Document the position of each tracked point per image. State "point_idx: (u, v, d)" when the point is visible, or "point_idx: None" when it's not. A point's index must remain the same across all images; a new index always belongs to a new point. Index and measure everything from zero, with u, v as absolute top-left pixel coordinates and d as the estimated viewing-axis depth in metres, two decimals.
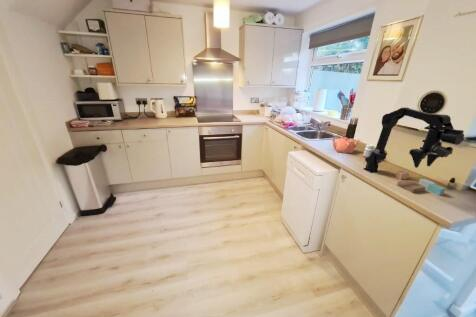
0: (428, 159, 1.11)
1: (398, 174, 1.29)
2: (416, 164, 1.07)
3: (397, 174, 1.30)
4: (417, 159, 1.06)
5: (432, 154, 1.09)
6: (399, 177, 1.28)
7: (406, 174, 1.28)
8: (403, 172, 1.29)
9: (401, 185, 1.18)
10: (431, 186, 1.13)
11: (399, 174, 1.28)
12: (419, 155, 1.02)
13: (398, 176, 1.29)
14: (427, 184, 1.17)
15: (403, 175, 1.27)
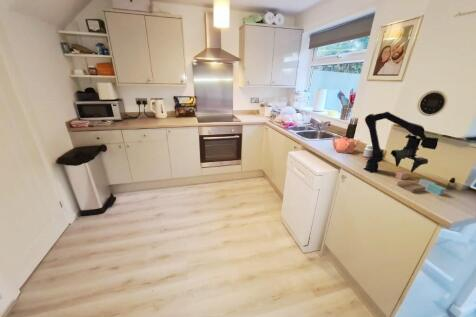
0: None
1: (398, 174, 1.29)
2: None
3: (397, 174, 1.30)
4: None
5: None
6: (399, 177, 1.28)
7: (406, 174, 1.28)
8: (403, 172, 1.29)
9: (401, 185, 1.18)
10: (431, 186, 1.13)
11: (399, 174, 1.28)
12: None
13: (398, 176, 1.29)
14: (427, 184, 1.17)
15: (403, 175, 1.27)
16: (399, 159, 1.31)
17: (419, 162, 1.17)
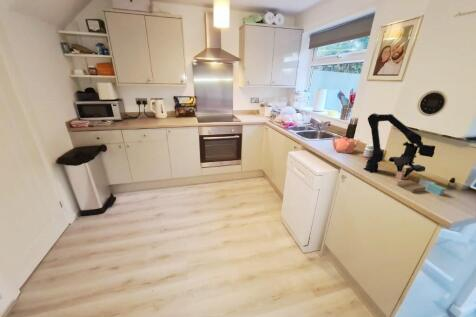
0: None
1: (398, 174, 1.29)
2: None
3: (397, 174, 1.30)
4: None
5: None
6: (399, 177, 1.28)
7: None
8: (403, 172, 1.29)
9: (401, 185, 1.18)
10: (431, 186, 1.13)
11: (399, 174, 1.28)
12: None
13: (398, 176, 1.29)
14: (427, 184, 1.17)
15: (403, 175, 1.27)
16: (401, 167, 1.30)
17: (416, 170, 1.19)
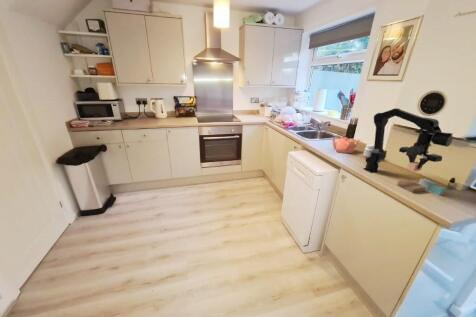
0: None
1: (411, 165, 1.16)
2: None
3: (409, 165, 1.17)
4: None
5: None
6: (412, 168, 1.15)
7: None
8: (416, 163, 1.16)
9: (401, 185, 1.18)
10: (431, 186, 1.13)
11: (412, 165, 1.15)
12: None
13: (411, 167, 1.16)
14: (427, 184, 1.17)
15: (416, 166, 1.15)
16: (413, 158, 1.17)
17: (433, 159, 1.06)
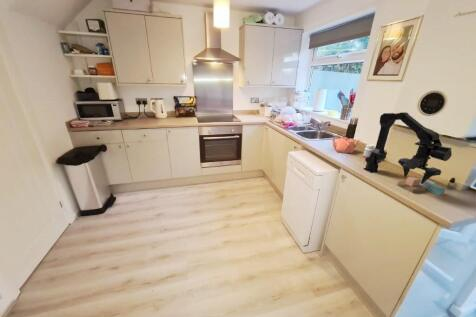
0: None
1: (409, 180, 1.15)
2: None
3: (408, 180, 1.15)
4: None
5: None
6: (410, 184, 1.14)
7: (418, 180, 1.14)
8: (414, 178, 1.15)
9: (401, 185, 1.18)
10: (431, 186, 1.13)
11: (410, 180, 1.14)
12: None
13: (409, 182, 1.15)
14: (427, 184, 1.17)
15: (415, 181, 1.13)
16: (408, 169, 1.18)
17: (431, 173, 1.04)
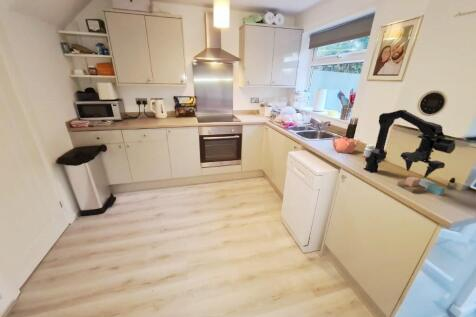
0: None
1: (408, 180, 1.15)
2: None
3: (407, 180, 1.15)
4: None
5: None
6: (410, 184, 1.14)
7: (417, 180, 1.14)
8: (414, 178, 1.15)
9: (401, 185, 1.18)
10: (431, 186, 1.13)
11: (410, 180, 1.14)
12: None
13: (408, 182, 1.15)
14: (427, 184, 1.17)
15: (414, 181, 1.13)
16: (410, 162, 1.17)
17: (435, 166, 1.02)
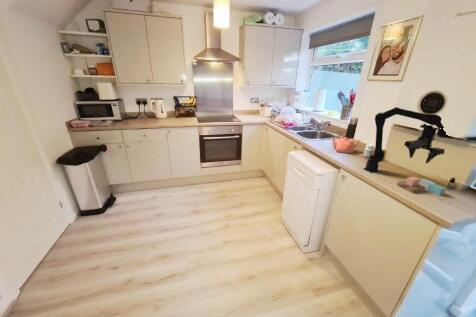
0: None
1: (409, 180, 1.15)
2: None
3: (407, 180, 1.15)
4: None
5: None
6: (410, 184, 1.14)
7: (417, 180, 1.14)
8: (414, 178, 1.15)
9: (401, 185, 1.18)
10: (431, 186, 1.13)
11: (410, 180, 1.14)
12: None
13: (409, 183, 1.15)
14: (427, 184, 1.17)
15: (414, 182, 1.13)
16: (413, 150, 1.27)
17: (435, 152, 1.13)
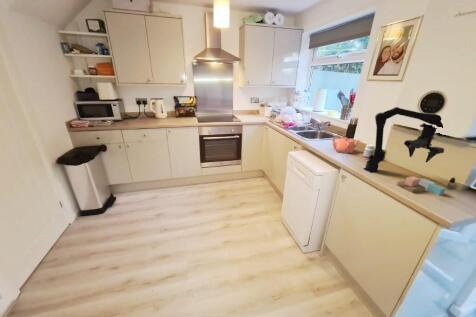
0: None
1: (408, 180, 1.15)
2: None
3: (407, 180, 1.15)
4: None
5: None
6: (409, 184, 1.14)
7: (417, 180, 1.14)
8: (414, 178, 1.15)
9: (401, 185, 1.18)
10: (431, 186, 1.13)
11: (409, 180, 1.14)
12: None
13: (408, 182, 1.15)
14: (427, 184, 1.17)
15: (414, 181, 1.13)
16: (413, 149, 1.28)
17: (435, 151, 1.14)
